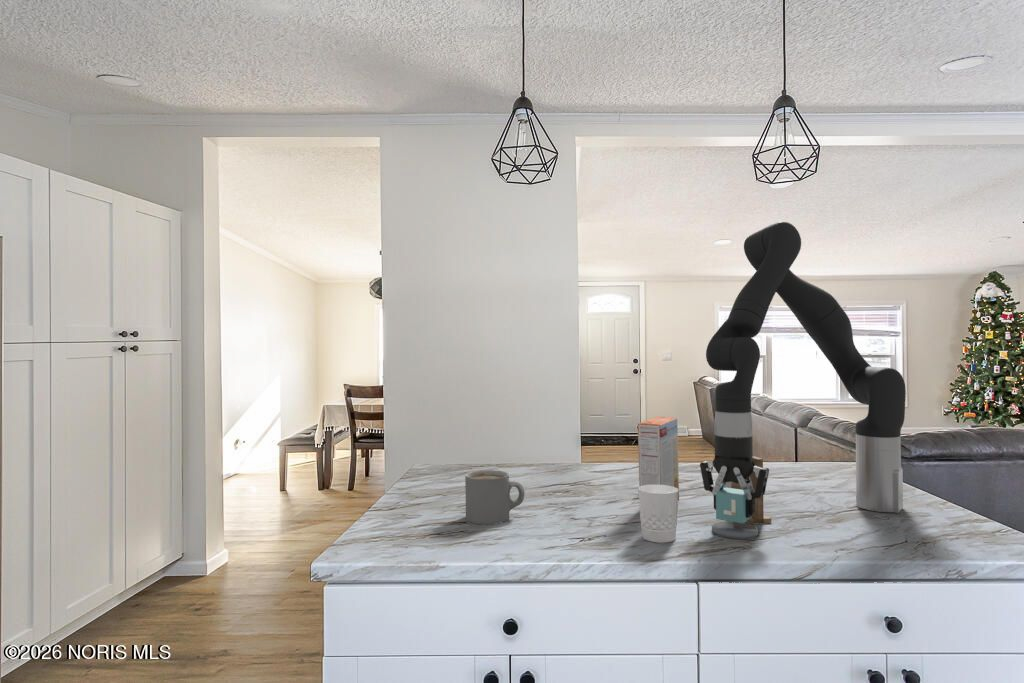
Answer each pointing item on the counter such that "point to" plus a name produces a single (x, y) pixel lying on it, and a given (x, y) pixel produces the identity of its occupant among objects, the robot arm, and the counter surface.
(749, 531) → the coaster
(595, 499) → the counter surface
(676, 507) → the white cup
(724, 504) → the letter cube
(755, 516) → the wooden stand
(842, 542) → the counter surface
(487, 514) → the coffee mug
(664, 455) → the cracker box
